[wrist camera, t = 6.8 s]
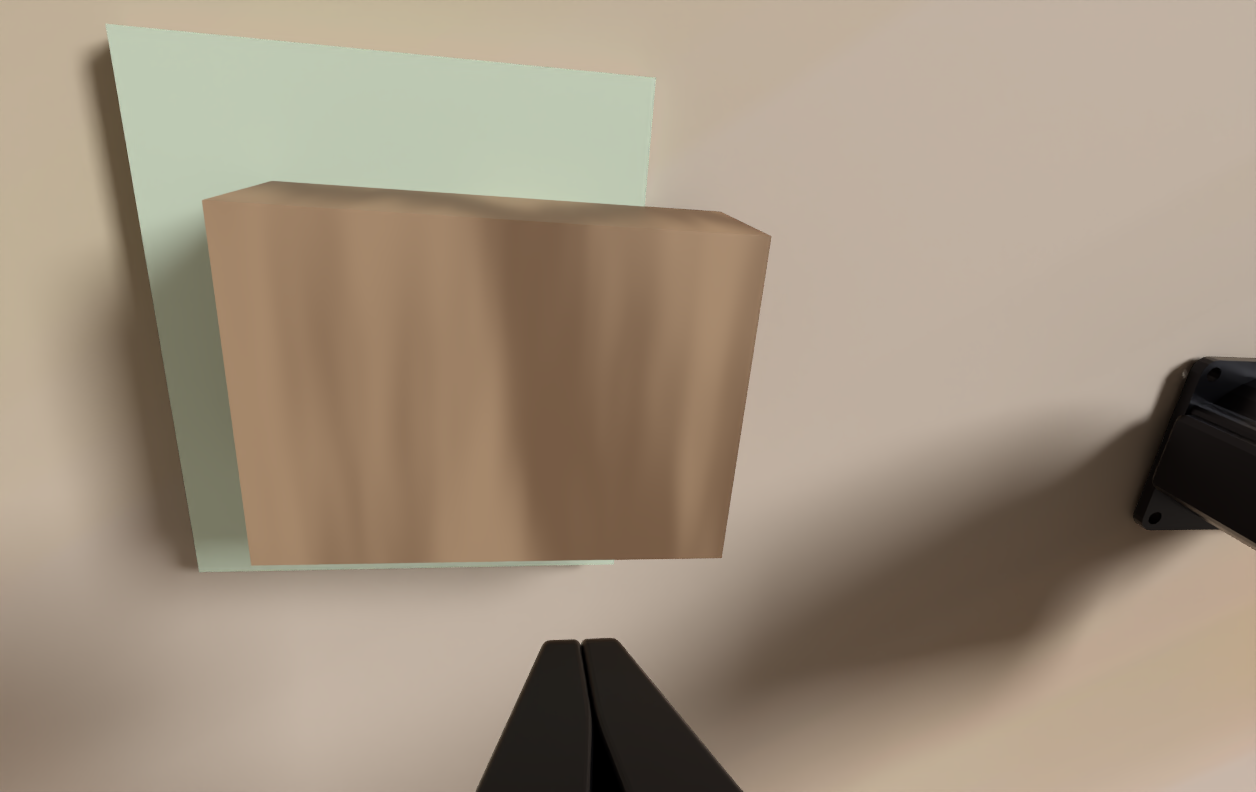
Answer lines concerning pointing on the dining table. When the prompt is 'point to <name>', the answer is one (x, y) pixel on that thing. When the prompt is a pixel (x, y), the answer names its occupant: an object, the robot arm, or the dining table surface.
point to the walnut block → (481, 373)
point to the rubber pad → (334, 155)
